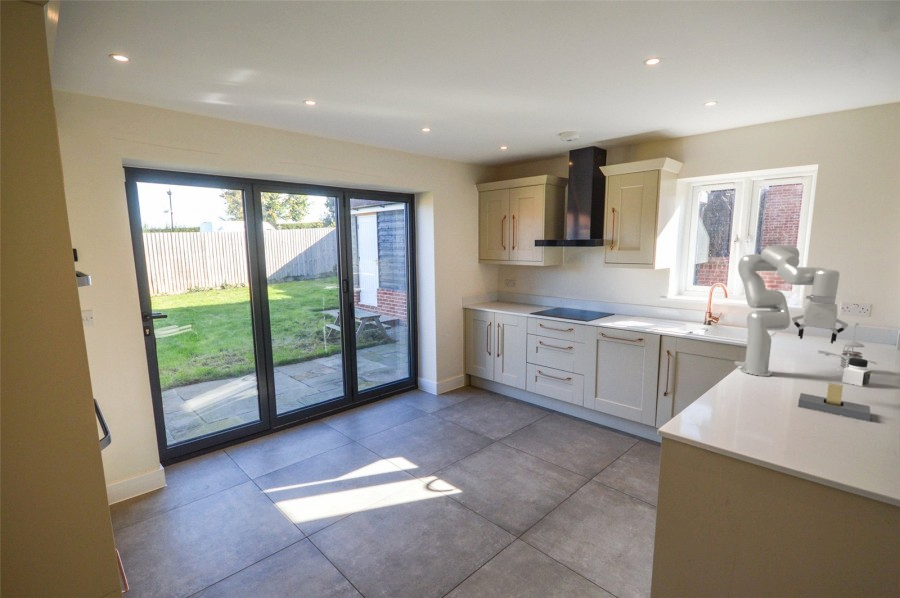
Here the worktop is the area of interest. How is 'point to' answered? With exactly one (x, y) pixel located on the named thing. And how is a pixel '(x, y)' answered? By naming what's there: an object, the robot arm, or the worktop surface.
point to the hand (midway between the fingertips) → (816, 340)
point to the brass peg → (834, 394)
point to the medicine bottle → (857, 372)
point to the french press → (850, 352)
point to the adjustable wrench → (836, 355)
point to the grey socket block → (835, 407)
